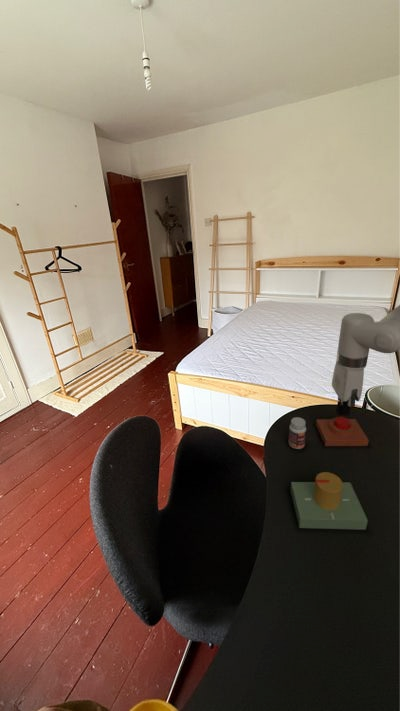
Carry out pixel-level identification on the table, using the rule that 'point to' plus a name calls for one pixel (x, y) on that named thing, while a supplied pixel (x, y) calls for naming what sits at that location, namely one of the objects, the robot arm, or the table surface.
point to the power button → (342, 423)
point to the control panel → (317, 517)
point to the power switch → (341, 433)
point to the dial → (328, 491)
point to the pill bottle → (297, 433)
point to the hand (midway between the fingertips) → (342, 413)
